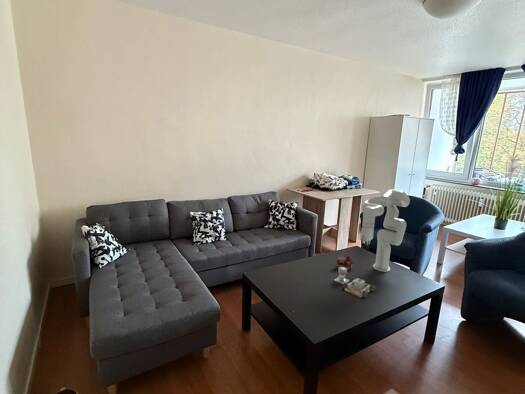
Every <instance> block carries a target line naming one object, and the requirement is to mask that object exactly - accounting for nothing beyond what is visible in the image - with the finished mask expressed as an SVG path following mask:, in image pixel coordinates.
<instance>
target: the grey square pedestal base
mask: <svg viewBox="0 0 525 394" xmlns="http://www.w3.org/2000/svg"><path fill="white" fill-rule="evenodd" d="M338 274H339V273H338ZM333 281H334V282H336V283H338V284H340V285H343V283H344V282H345V283H350V282H351V279H348V278H346V275H342V274H339V275H338V277H336V278H334V279H333Z"/></svg>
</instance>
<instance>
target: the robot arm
mask: <svg viewBox="0 0 525 394" xmlns="http://www.w3.org/2000/svg"><path fill="white" fill-rule="evenodd" d="M410 202H411V199H410V196H409V195H408V194H407V193H406V192H405V191H403V190H401V189H392V188H387V189H386V190H385V191H384V192H382V194H380V195H379V196H375V197H371V198H368V199H367V200H365V201H364V202H363V204H361V212H363V214H362V215H363V216H362V225H361V226H362V227H361V231H360V237H359V238H360V241H362V242H361V243H362V244H363V250H366V251H369V250H370V244H371V240H373V239H374V234H375V233H374V232H375V223H376V222H375V221H376V217H379V216H382V215H383V214H384V212H385V208H384V207H386V214H385V216H384V220H383V224H382V225H383V227H384V229H379V230H378V231H377V235H376V236H377V239H376V240H377V246H376V247H377V248H376V255H375V257H376V258H375V263H373V265H372V267H373V269H374V270H376V271H378V272H382V273H383V272H384V273H386V272H387V273H388V272H390V271H391V267H390V266H389V264H390V258H391V257H390V256H391V249H392V248H391V245H393V246H400V245H401V244H402V241H403V239H404V235H405V233H406V229H407V221H405V219H402V218H398V217H399V213H400V211H399V209H398V207H403V208H406V207H408V206H409V205H410ZM397 206H398V207H397Z"/></svg>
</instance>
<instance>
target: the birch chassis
mask: <svg viewBox="0 0 525 394" xmlns="http://www.w3.org/2000/svg"><path fill="white" fill-rule="evenodd" d="M356 279H357V278H356V277H354V276H352V277H351V278H350V282H347V283H345V282H344V283H343V284H342V288H343V289H344V291H345V292H347V293H350V294H352V295H354V296H355V297H359V298H361V299H362V298H365V299H366V298H367V297H368V295H369V292H370V291H371V292H375V291H376V285H374V284H369V283H366V282H365V285H364V289H363V290H361V289H359V288H356V287H354V281H355V280H356Z"/></svg>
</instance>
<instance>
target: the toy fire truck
mask: <svg viewBox="0 0 525 394" xmlns="http://www.w3.org/2000/svg"><path fill="white" fill-rule="evenodd" d="M336 259H337V260H336V266H337V267H338V268H339V267H345V268H347V271H350V270H351V269H352V268H353V267H354V262H353V261H352V258H351V257H350V255H347V256H346V255H339V254H338V255H336Z"/></svg>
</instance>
